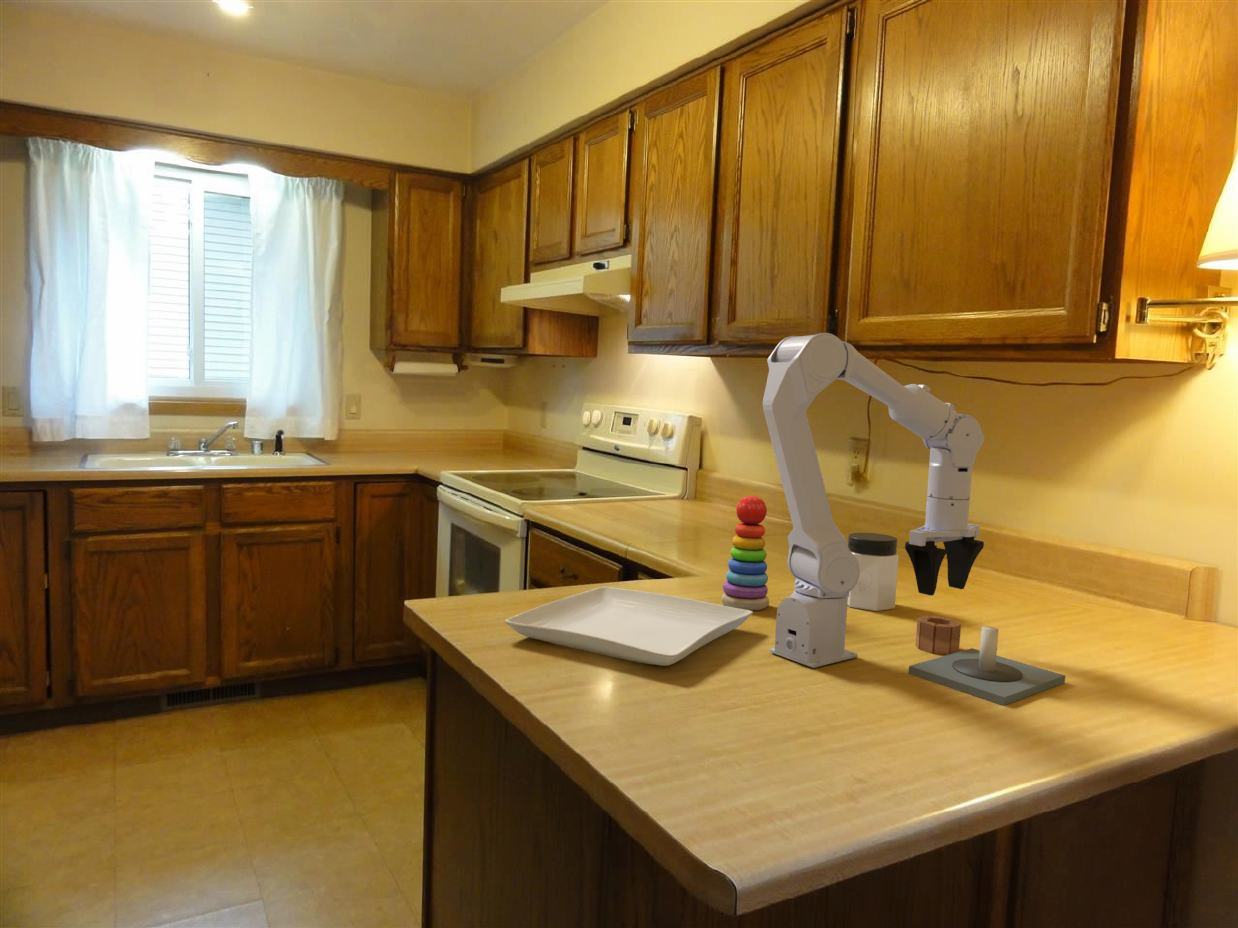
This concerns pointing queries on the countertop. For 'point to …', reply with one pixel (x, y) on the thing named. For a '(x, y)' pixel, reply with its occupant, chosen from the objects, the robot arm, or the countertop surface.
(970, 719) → the countertop surface
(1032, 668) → the post board
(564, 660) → the countertop surface
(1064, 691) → the countertop surface
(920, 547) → the robot arm
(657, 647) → the square plate
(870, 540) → the jar
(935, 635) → the collar
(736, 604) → the stacking toy
